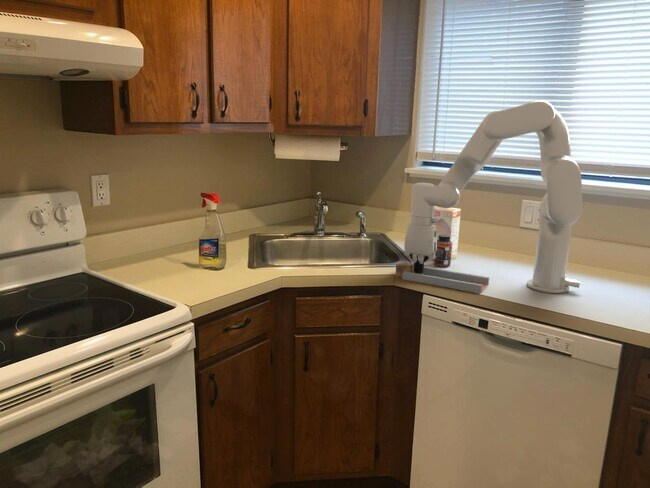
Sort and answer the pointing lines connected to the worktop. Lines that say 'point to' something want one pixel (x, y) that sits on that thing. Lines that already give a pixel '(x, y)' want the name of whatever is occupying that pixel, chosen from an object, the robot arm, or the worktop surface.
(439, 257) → the supplement bottle
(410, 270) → the walnut block
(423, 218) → the robot arm
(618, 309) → the worktop surface
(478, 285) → the channel
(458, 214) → the coffeecake box
